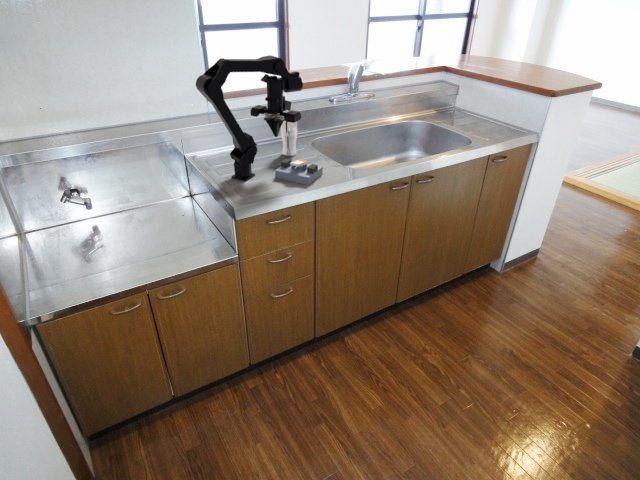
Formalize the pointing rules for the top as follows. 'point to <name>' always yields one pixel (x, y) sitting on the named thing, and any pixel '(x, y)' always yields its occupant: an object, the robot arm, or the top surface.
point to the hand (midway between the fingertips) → (276, 136)
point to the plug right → (312, 168)
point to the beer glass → (289, 138)
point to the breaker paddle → (298, 162)
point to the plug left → (286, 163)
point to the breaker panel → (298, 174)
